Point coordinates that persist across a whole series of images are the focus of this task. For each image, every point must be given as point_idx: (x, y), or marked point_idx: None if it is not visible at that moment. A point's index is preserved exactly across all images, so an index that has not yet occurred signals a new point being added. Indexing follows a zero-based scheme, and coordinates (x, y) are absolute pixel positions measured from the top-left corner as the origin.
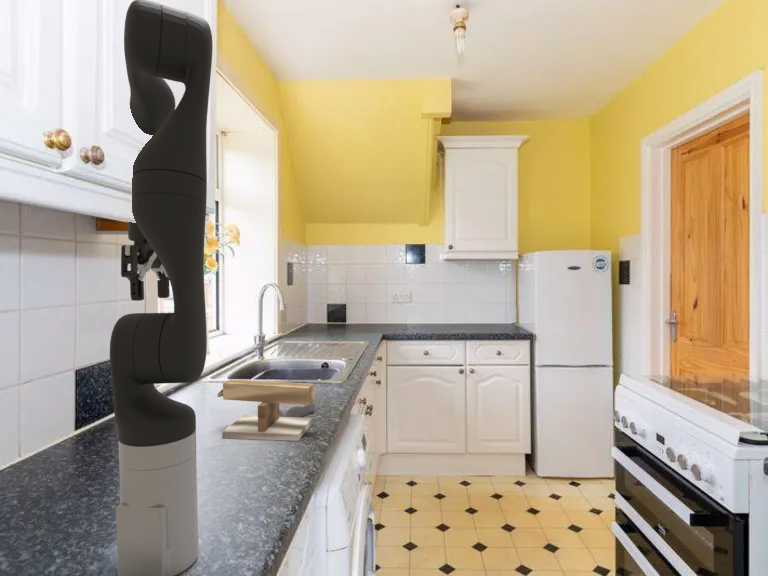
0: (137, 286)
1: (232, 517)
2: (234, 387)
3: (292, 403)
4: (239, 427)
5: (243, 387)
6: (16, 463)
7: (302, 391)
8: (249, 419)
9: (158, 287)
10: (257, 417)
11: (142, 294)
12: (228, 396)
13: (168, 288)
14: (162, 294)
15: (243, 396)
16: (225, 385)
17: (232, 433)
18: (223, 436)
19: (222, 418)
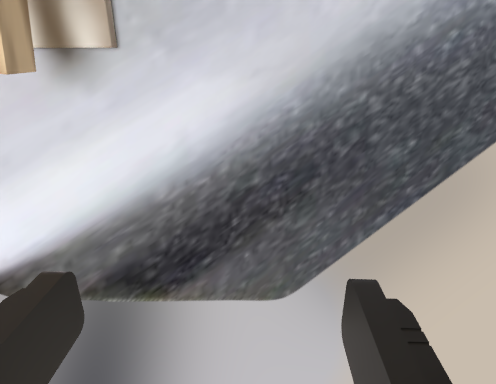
0: (439, 366)
1: None
2: (8, 35)
3: None
4: (78, 19)
5: (2, 2)
6: (270, 299)
7: None
8: None
9: (43, 380)
10: None
11: (376, 300)
12: (28, 55)
13: (15, 311)
14: (66, 313)
15: (20, 6)
16: (10, 65)
17: (109, 22)
18: (115, 44)
19: (14, 106)
